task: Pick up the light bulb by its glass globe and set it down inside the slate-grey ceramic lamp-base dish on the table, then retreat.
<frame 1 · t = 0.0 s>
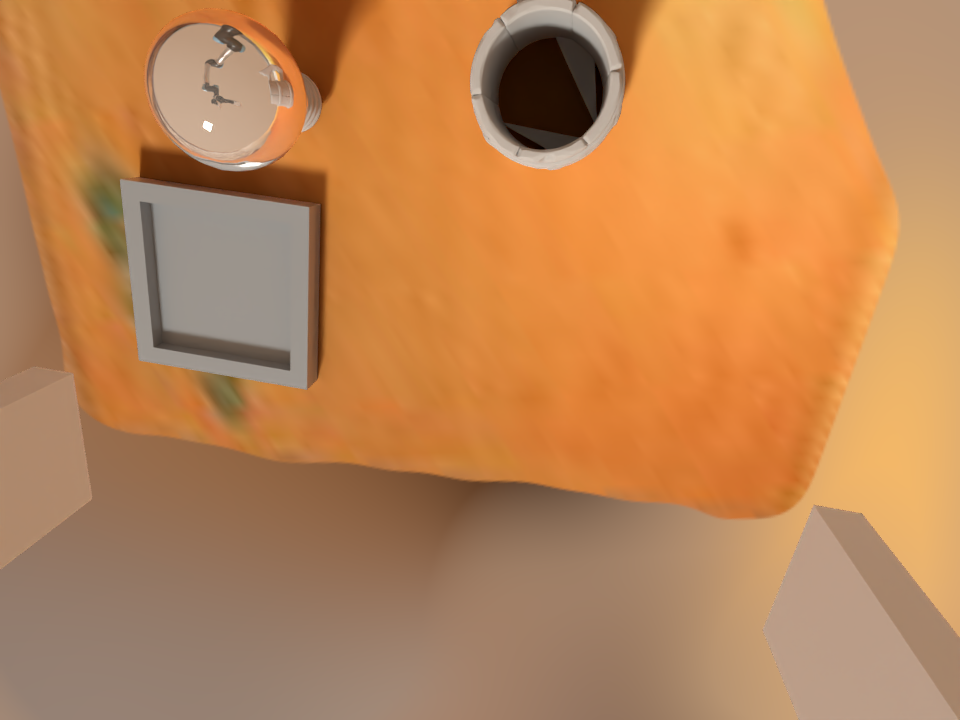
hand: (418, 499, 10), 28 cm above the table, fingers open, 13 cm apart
light bulb: (304, 103, 35), on the table
mug: (544, 58, 33), on the table
dish: (232, 282, 40), on the table
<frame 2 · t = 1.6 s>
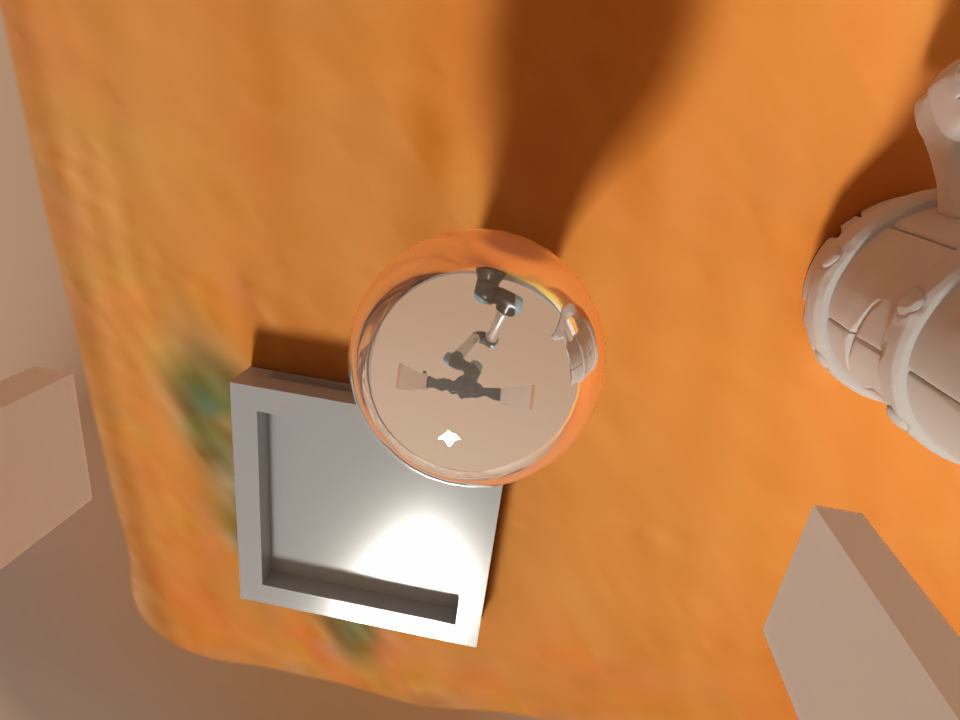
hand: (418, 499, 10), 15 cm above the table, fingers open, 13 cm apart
light bulb: (507, 281, 24), on the table
mug: (900, 234, 21), on the table
dish: (373, 501, 29), on the table
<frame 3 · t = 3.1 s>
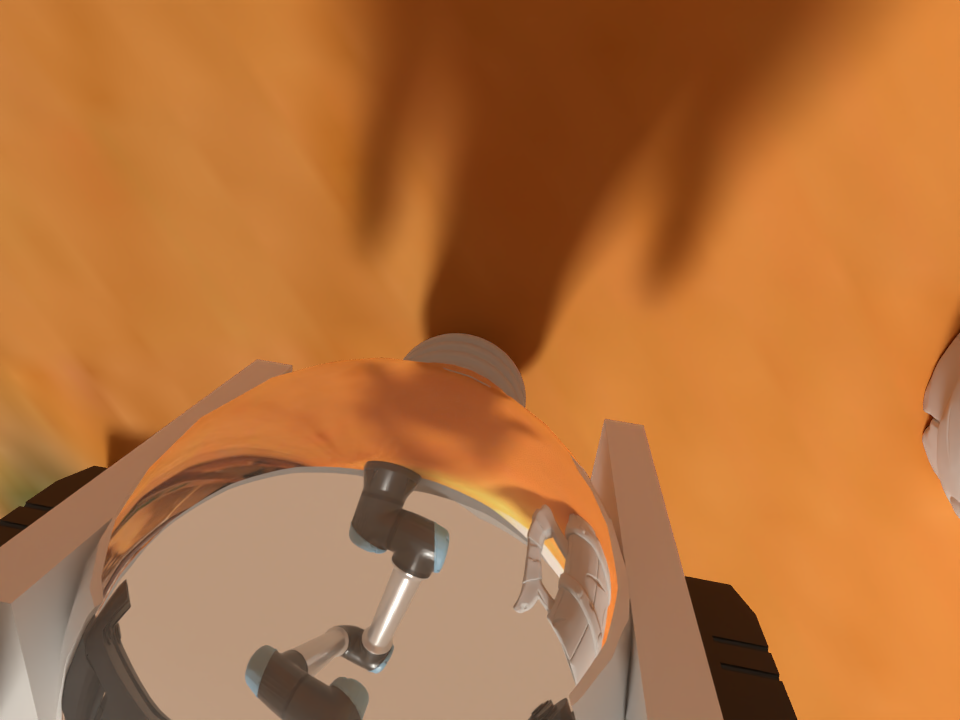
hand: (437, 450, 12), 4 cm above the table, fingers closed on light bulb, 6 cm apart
light bulb: (468, 373, 16), on the table, touching gripper
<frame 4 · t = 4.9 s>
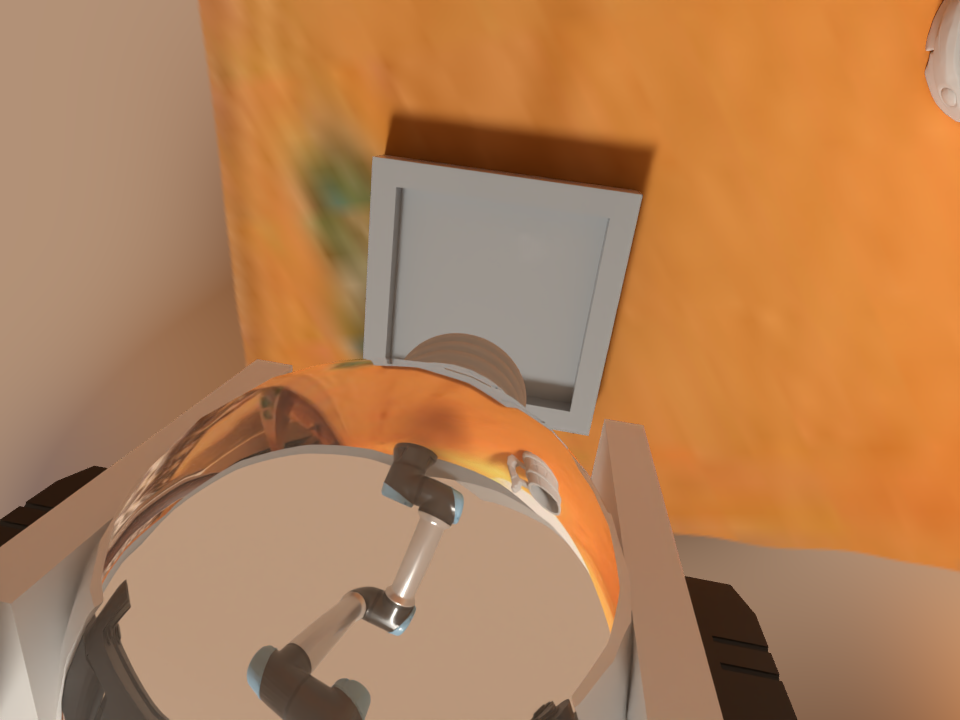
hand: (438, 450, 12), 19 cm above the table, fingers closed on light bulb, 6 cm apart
light bulb: (468, 373, 16), point 15 cm above the table, touching gripper
dish: (492, 295, 30), on the table
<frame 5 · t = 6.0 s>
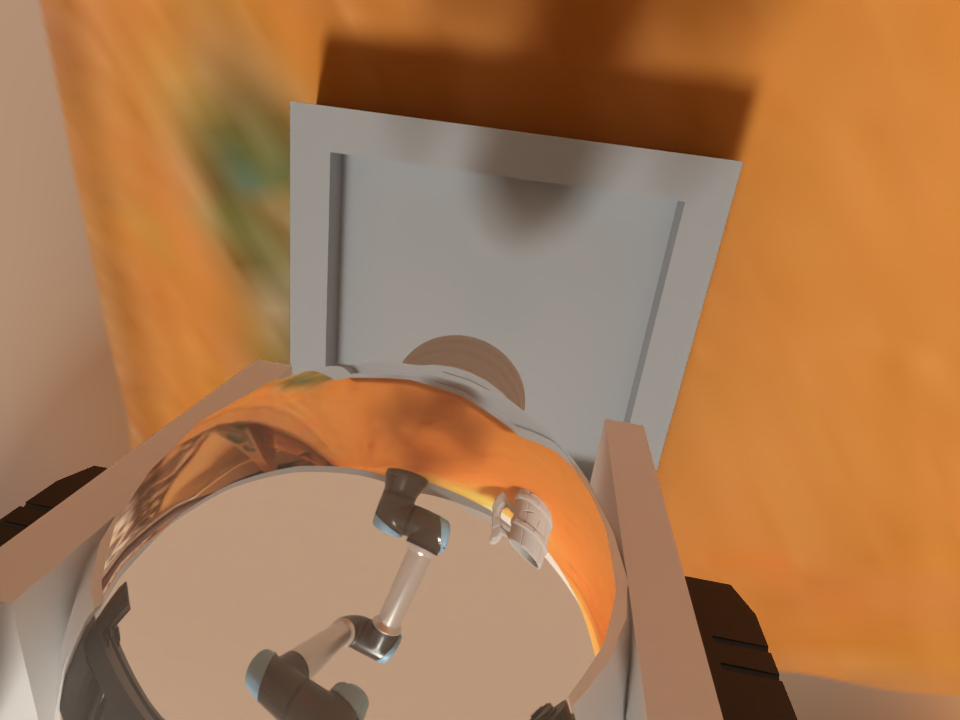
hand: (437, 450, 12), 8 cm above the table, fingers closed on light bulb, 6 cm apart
light bulb: (467, 375, 16), point 4 cm above the table, touching gripper
dish: (488, 325, 20), on the table
when the fingers open (5 cm above the table, at t = 6.9 s): light bulb stays where it is, resting on dish.
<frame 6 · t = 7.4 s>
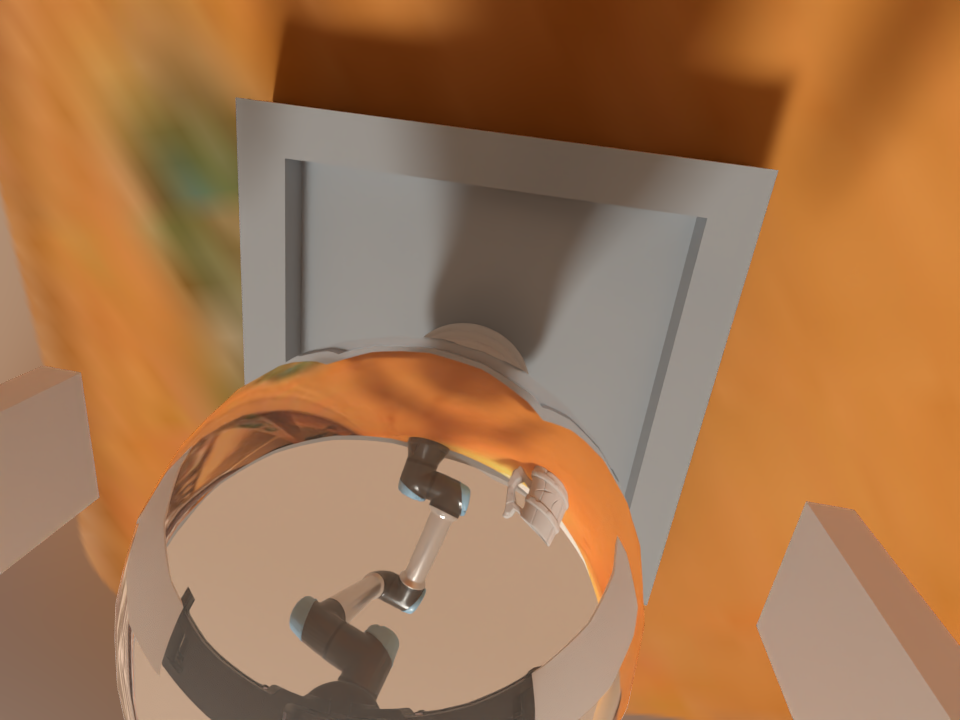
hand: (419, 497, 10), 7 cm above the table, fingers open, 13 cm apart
light bulb: (473, 364, 16), point 1 cm above the table, touching dish
dish: (475, 357, 17), on the table
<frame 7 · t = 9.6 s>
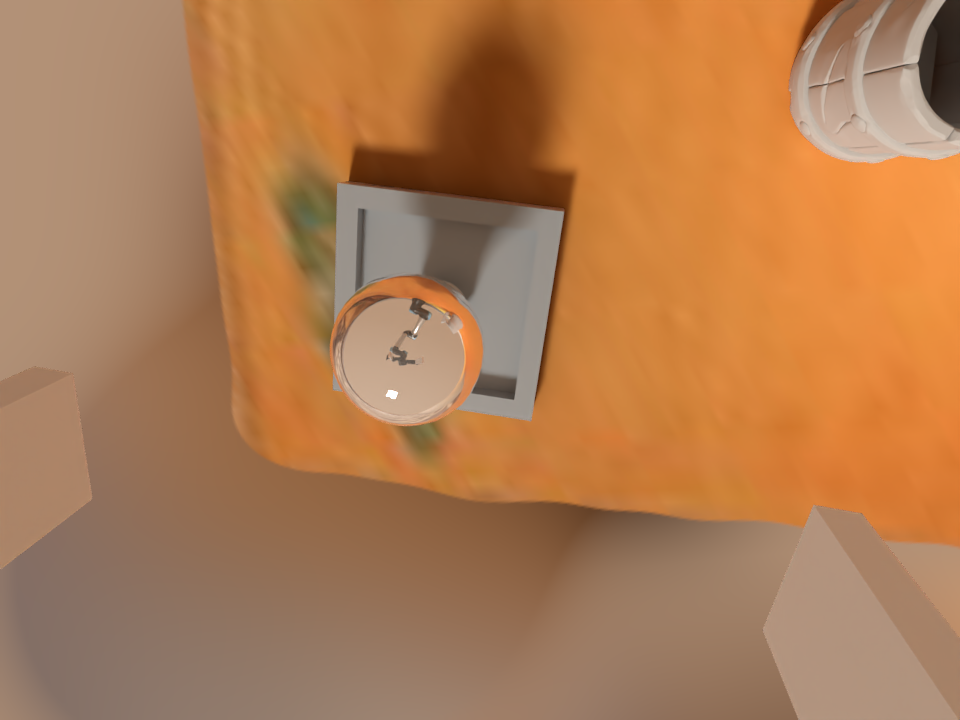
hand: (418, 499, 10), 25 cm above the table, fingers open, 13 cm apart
light bulb: (443, 302, 34), point 1 cm above the table, touching dish
mug: (861, 34, 28), on the table
dish: (444, 300, 35), on the table
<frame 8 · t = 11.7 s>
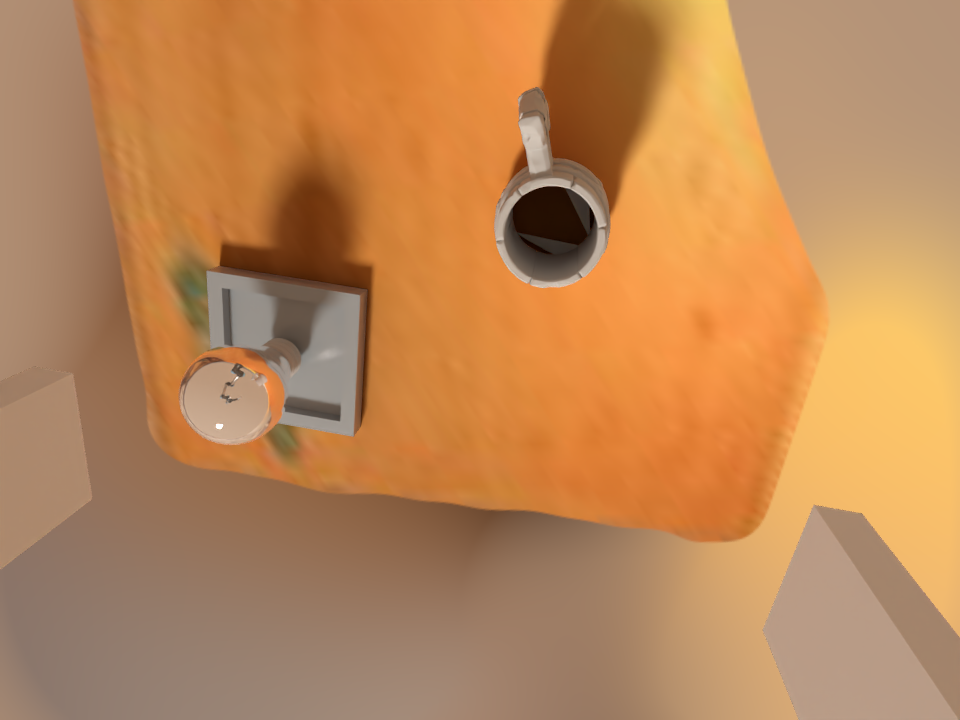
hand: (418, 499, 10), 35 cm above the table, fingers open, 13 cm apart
light bulb: (289, 351, 48), point 1 cm above the table, touching dish
mug: (548, 183, 41), on the table
dish: (292, 349, 49), on the table
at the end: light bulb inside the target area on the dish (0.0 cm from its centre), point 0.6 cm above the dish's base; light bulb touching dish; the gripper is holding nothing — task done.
